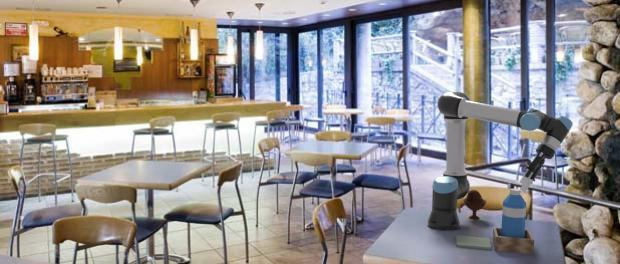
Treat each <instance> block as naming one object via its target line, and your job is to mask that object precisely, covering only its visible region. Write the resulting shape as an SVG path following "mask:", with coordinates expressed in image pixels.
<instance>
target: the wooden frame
mask: <svg viewBox="0 0 620 264" xmlns="http://www.w3.org/2000/svg"><path fill="white" fill-rule="evenodd" d="M501 229H502V227H498V226H497V227H496V226H493V227H492V244H493V247H494V252H506V253H516V254H529V255H534V251H535V239H534V237H533V235H532V233H531V231H530V230H529V229H525V236H524V238H513V237H501Z"/></svg>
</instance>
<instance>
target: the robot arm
mask: <svg viewBox="0 0 620 264" xmlns="http://www.w3.org/2000/svg"><path fill="white" fill-rule="evenodd" d="M437 109H438V111H439V113H441V114H442V116H443V120H444V121H445V122H446V165H445V166H446V169H445V170H444V171H443V173H442V176H438V177H436V178H435V179H433V181H432V187H431V188H432V194H431V202H432V203H431V211H430V214H429V217H428V219H427V226H428V227H429V226H430V228H431V227H432V228H431V229H435V230H439V231H455V230H458V229H460V228H461V227H460V226H461V222H460V219H459V215H458V212H457V209H458V208H457V207H458V201H459V200H461V199H465V197H467V195H468V192H469V191H470V188H471V185H470V184H471V183H470V181H469V180H468V173H467V172H466V171H465V133H466V131H465V130H466V129H465V126H466V125H465V124H466V122H467V121H468V120H469V118H470V119H475V120H479V121H480V120H481V121H484V122H490V123H495V124H499V125H503V126H504V125H505V126H508V127H509V126H510V127H515V128H519V129H523V130H525V131H529V132H532V131H535V130H540V131H541V132H544V133H545V135H544V136H543V138H542V139H541V141H540V143H539V145H538V146H537V148H536V149H535V153H537V154H536V156H535V157H534V159H533V160H532V161H531V162H530V164H529V165H528V166H526V167H525V169H526V171H525V173H524V174H523V176H521V179H520V180H519V183H520V184H522V185H521V187H520V188H519V190H521V192H523V193H526V192H527V191H528V189H529V188H530V186H531V185H532V183H533V182H535V181H536V177H537V176H538V174H539V172H540V170H541V169H542V167H543V165H544V164H545V163H546V160H545V159H547V160H552V159H553V157H554V155H555V154H556V152H557V150H558V149H560V148H562V147H561V145H562V143H563V142H564V140H565V138H566V137H567V136H568V134H569V133H570V130H571V129H572V127H573V121H572V120H571V119H570V118H568V117H566V116H564V115H558V116H556V117H553V116H551V115H548V114H546V113H544V112H543V111H540V110H539V109H535V108H533V107H529V108H528V110H527V111H525V110H518V109H515V108H509V107H504V106H498V105H493V104H488V103H482V102H476V101H471V98H470V97H469V96H468V94H466V93H465V92H461V91H449V92H445V93H443V94H442V95H440V96H439V98H438V99H437Z"/></svg>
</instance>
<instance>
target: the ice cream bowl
mask: <svg viewBox="0 0 620 264" xmlns="http://www.w3.org/2000/svg"><path fill="white" fill-rule="evenodd" d="M465 197H466V198H465ZM465 197H464V198H463V203H464V206H466V208H468V209H469V210H471V211H472V214H471V215H470V216H468V219H470V220H477V221H478V220H480V217H479V216H478V215H477V211H480V210H482V209H483V208H484V207H485V206H486V204H487V200H486V199H483V196H482V194H481V193H480V191H478V190H476V189H471V190H469V192H468V194H467V195H466V196H465Z"/></svg>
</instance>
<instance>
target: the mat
mask: <svg viewBox="0 0 620 264" xmlns="http://www.w3.org/2000/svg"><path fill="white" fill-rule="evenodd" d="M456 248H466V249H476V250H489V251H492V245H491V240H490V238H489V237H481V236H480V237H479V236H470V235H456Z"/></svg>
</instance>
